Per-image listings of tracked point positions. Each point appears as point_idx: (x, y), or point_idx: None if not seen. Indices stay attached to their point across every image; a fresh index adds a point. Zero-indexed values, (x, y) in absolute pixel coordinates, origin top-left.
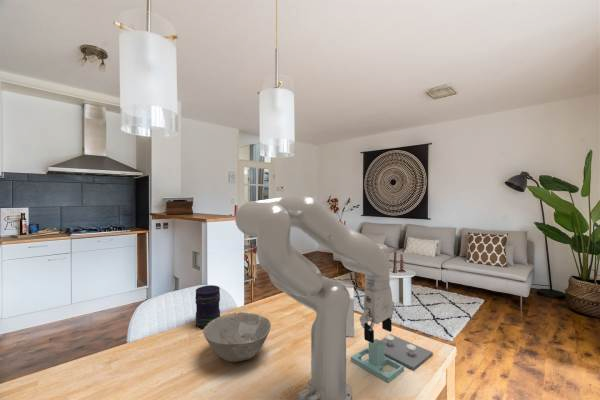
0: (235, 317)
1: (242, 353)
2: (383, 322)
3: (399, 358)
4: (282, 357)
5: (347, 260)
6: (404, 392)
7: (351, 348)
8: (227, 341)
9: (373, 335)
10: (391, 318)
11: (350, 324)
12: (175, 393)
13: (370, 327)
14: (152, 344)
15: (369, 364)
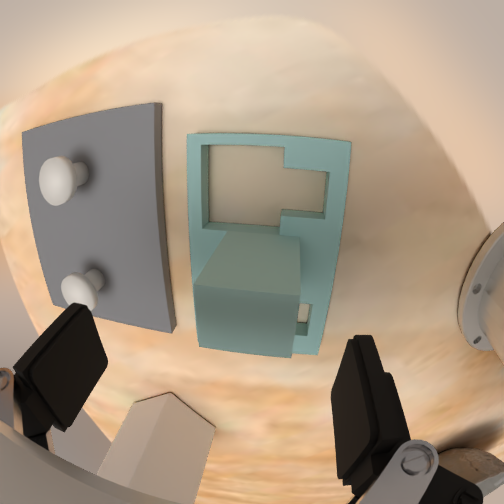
0: None
1: (492, 456)
2: (80, 394)
3: (140, 192)
4: (415, 437)
5: None
6: (350, 58)
7: (236, 374)
8: None
9: (378, 388)
10: (5, 371)
11: (163, 434)
12: None
13: (430, 478)
14: None
15: (314, 271)
